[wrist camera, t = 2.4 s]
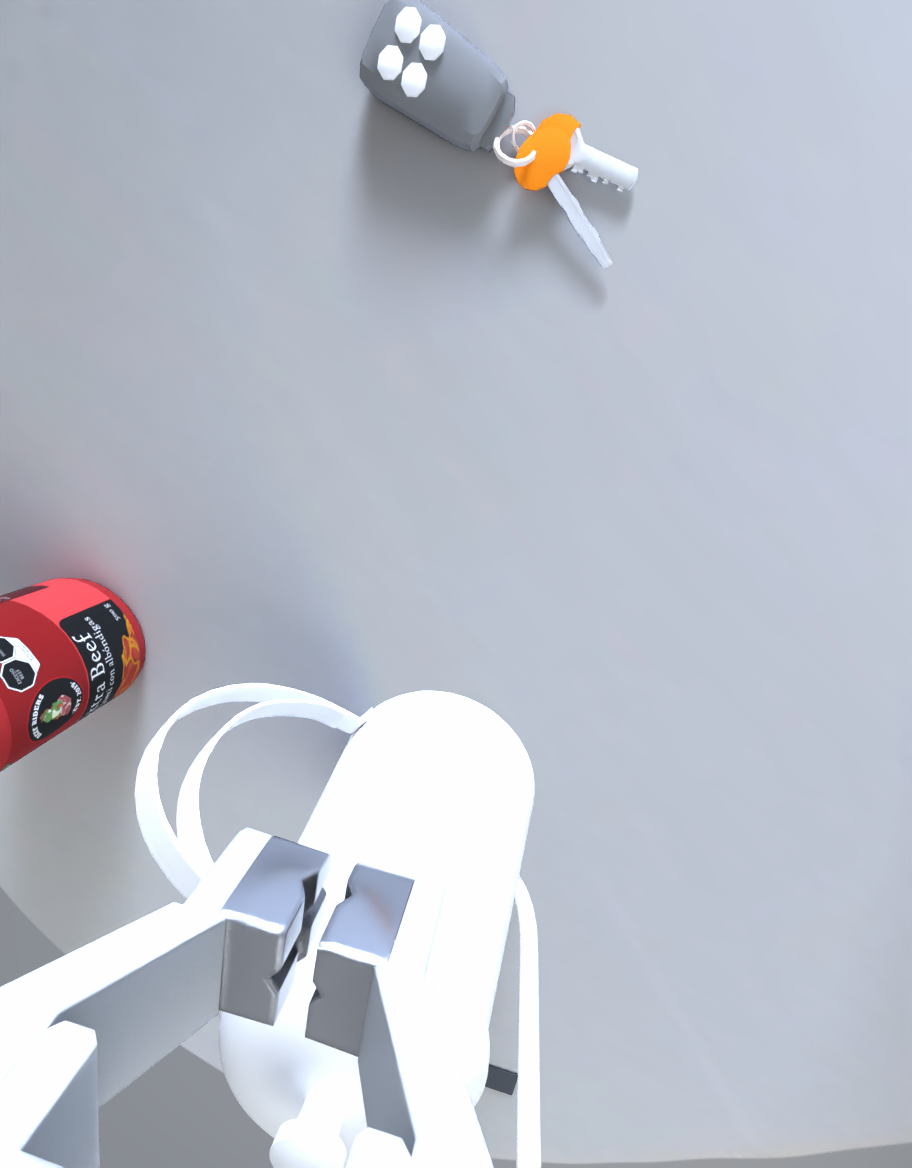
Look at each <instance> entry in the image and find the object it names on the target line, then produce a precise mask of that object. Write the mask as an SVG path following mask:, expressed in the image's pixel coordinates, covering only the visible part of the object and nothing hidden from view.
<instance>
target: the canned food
mask: <svg viewBox="0 0 912 1168" xmlns="http://www.w3.org/2000/svg"><path fill="white" fill-rule="evenodd" d="M144 661H145V642H144V637H143V634H142V631H141V628H140V626H139V624H138V622H137V620H136V618H135V616H134V615H133V613H132V612H131V611H130V609H129V608H128V606H127V605H126V604H125V603H124V602H123V601H122V600H121V599H120V598H119V597H118V596H116V595H115V594H114V593H112V592H111V591H110V590H108V589H107V588H105V587H103V586H101V585H99V584H97V583H94V582H91V581H88V580H84V579H76V578H60V579H51V580H48V581H45V582H42V583H39V584H36V585H33V586H30V587H26V588H23V589H20V590H17V591H14V592H11V593H8V594H5V595H2V596H0V772H1V771H2V770H4V769H5V768H7V767H8V766H10V765H12V764H13V763H15V762H16V761H18V760H19V759H21V758H22V757H24V756H25V755H27V754H29V753H30V752H32V751H33V750H35V749H36V748H38V747H39V746H41V745H42V744H44V743H46V742H47V741H49V740H50V739H52V738H53V737H55V736H56V735H58V734H59V733H61V732H63V731H64V730H66V729H67V728H69V727H70V726H72V725H73V724H75V723H76V722H78V721H80V720H81V719H83V718H84V717H86V716H87V715H89V714H90V713H92V712H93V711H95V710H97V709H98V708H100V707H101V706H103V705H104V704H106V703H107V702H109V701H110V700H112V699H114V698H115V697H117V696H118V695H120V694H121V693H123V692H124V691H125V690H126V689H127V688H128V687H130V686H131V684H132V683H133V682H134V680H135V679H136V678H137V676H138V675H139V673H140V671H141V670H142V667H143V664H144Z"/></svg>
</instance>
